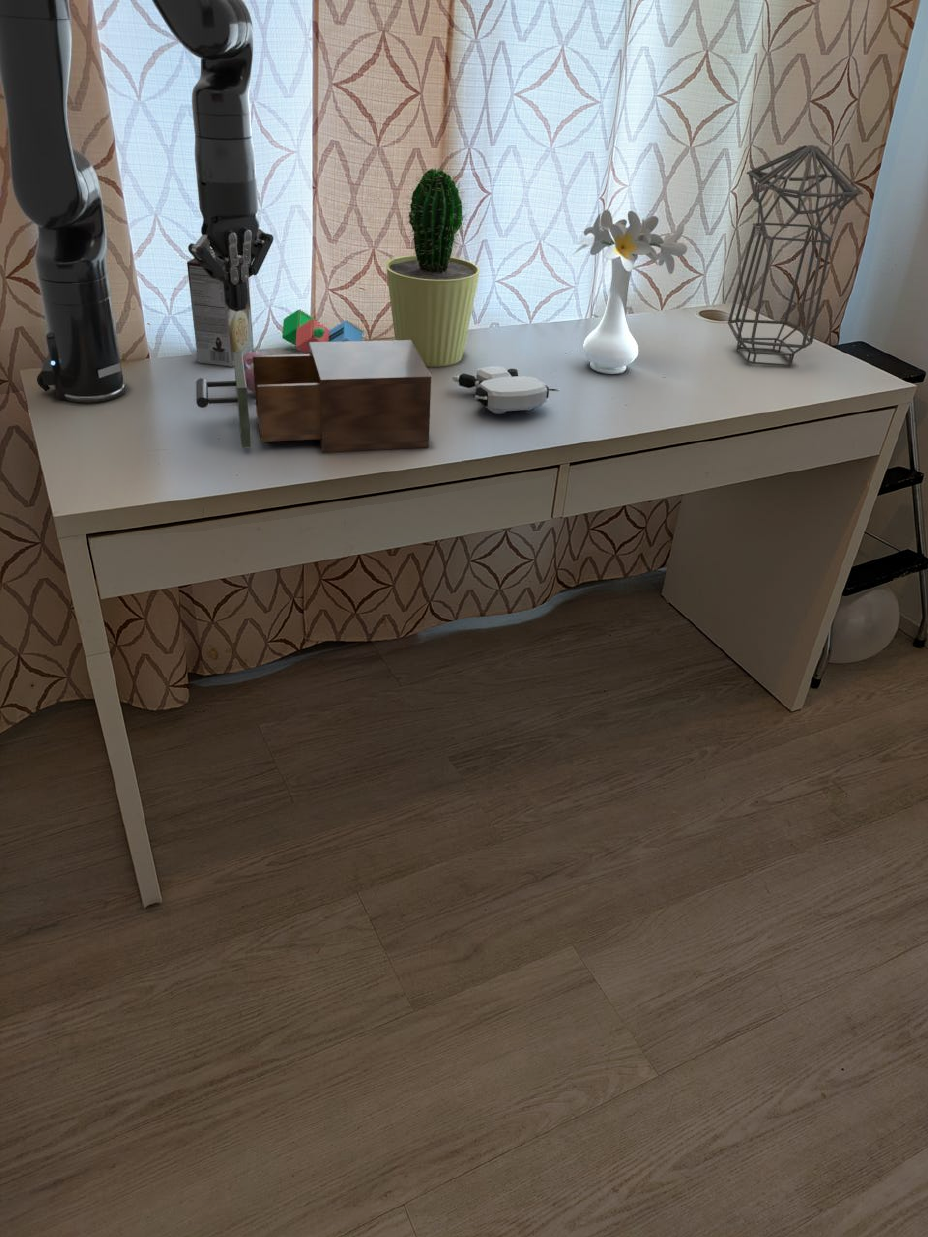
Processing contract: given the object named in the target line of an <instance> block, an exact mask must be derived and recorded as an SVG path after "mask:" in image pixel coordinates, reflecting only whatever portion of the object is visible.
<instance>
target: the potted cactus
mask: <svg viewBox="0 0 928 1237" xmlns="http://www.w3.org/2000/svg"><path fill="white" fill-rule="evenodd" d="M436 166H437V165H434V167H432V168H431V169H428V168H426V167H425V168H426V169H425V170H426V171H425V170H424V169H422V171H423V172H421V171H420V173H421V174H422V175H419V174H418V173H417V175H418V176H416V180H413V182H414V183H415V184H416V186H415V189H414V187H412V194H411V197H409V196H406V198H408V199H409V200H411V202H410V204H409V203H406V202H404V205H409V207H407V210H409V211H407V212H405V214H407V215H408V216H406V219H405V220H406V221H407V224H409V225H410V226H411V229H412V230H410V232H409V236H407V238H408V237H409V241H411V242H408V245H411V244H412V245H413V246H414V247H411V250H412V249H413V251H414V252H413V253H412V255H403V256H398V257H395V258H391V259H390V260H388V261H387V262H386V263H385V266H384V267H385V268H386V277H387V286H388V294H389V302H390V310H391V316H392V325H393V332H394V340H411V341H412V343H413V344H414V346H415V348H416V350H417V352H418V353H419V355H420V357H421V359H422V361H423V362H424V364H425V366H426V367H431V368H432V367H435V368H436V367H437V368H438V367H447V366H451V365H455V364H457V363H459V362H460V361H461V360H462V358H463V356H464V351H465V347H466V342H467V337H468V333H469V328H470V322H471V318H472V312H473V307H474V302H475V298H476V292H477V289H478V288H477V287H478V283H479V277H480V276H479V275H480V272H481V270H480V267H479V266H478V265H477V264H475V263H473V262H471V261H469V260H466V259H462V258H459V257H454V256H452V255H453V254H454V253H453V250H454V248H455V249H459V247H457V244H459V243H456V245H455V242H454V241H459V240H458V237H459V234H458V233H457V232H459V231H460V233H461V234H462V235H464V233H463V232H464V229H463V228H462V227H463V226H464V225H465V223H463V221H468V219H467V215H468V214H469V212H466V214H464V215H463V211H466V208H467V207H465V206H466V203H465V202H464V203H463V202H462V200H464V198H463V197H464V195H463V194H464V191H462V190H460V188H461V185H460V183H458V185H456V183H457V181H458V179H459V178H457V179H455V180H453V179H454V177H455V176H456V175H457V174H454V175H453V176H452V177H451V175H452V171H453V170H451V171H450V172H449V171H448V170H447V171H448V172H447V171H443V169H440V170H439V169H437V168H436ZM462 231H463V232H462ZM410 235H411V237H413V238H410ZM412 241H413V242H412Z"/></svg>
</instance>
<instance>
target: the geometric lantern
mask: <svg viewBox="0 0 928 1237" xmlns="http://www.w3.org/2000/svg"><path fill="white" fill-rule="evenodd" d="M806 158H807V161H806V165H805V168H804V172H803V176H802V177H801V176H800V177H799V176H798V177H797V176H794V177H793V176H792V175H793V174H794V173H795V172H796V171H797V169H798V168H799V167H800V166H801V164H802V163H803V161H804V160H805V159H806ZM812 163H813V164H812ZM778 164H779V165H778ZM811 164H812V165H813V171H814V174H810V175H809V172H810V169H811V168H810V167H811ZM818 164H819V166H820V168H821V169H822V172H823V173H819V168H818ZM776 165H778V166H776ZM773 166H776V167H774V169H772V170H770V171H769V172H765V171H764V170H767V169H769V168H772V167H773ZM788 171H789V173H788V174H787V175H786V173H787V172H788ZM827 171H828V172H829V174H830V175H829V174H828V173H827ZM746 175H748V178H749V182H750V186H751V191H752V194H753V197H752V200H753V201H754V202H755V203H758V207H757V208H758V209H757V222H753V223H752V228H751V232H750V237H749V240H748V245H747V247H746V252H745V255H744V258H743V259H744V260H743V263H742V267H741V271H740V275H739V279H738V282H737V286H736V290H735V294H734V298H733V301H732V306H731V309H730V311H729V316H728V320H727V325H728V327H729V329H730V330H731V332H732V334H733V336H734V338H735V340H736V341H737V344H736V349H735V350H736V351H737V353H738V354H739V355H740V356H741V357H742V358H743V360H744V361H745V362H746V363H747V364H752V365H761V366H762V365H764V366H780V367H791V366H792V365H793V360H794V357H795V354H797V353H798V352H799V351H801V350H803V349H806V348H807V347H809V346H810V345H812V344H813V343H814V335H815V331H816V325H817V319H818V315H819V309H820V305H821V298H822V294H823V289H824V288H823V287H824V283H825V279H826V278H825V277H826V272H827V268H828V262H829V257H830V251H831V246H832V243H833V241H834V239H833V237H834V234H835V231H836V229H837V228H836V227H837V225H838V222H839V219H840V216H841V212H842V210H845V207H846V206H847V205H848V204H850V203H851V202H852V201H853V200H855V198H857V197H858V196H859V195H863V194H864V191H863V190H861V188H859V186H857V184H856V183H855V182H854V181H853V180H851V178H850V177H849V176H848V175H847V174H846V173H845V172H844V171H843V170H842V169H841V168H840V167H839V166H838V164H836V163H835V162H834V161H833V160H832V159H831V158H830V157H829V156H828V155H827V154H826V153H825V152H824V151H823V150H822V148H820V146H818V145H815V144H813V145H812V144H808V145H806V144H804V145H802V146H799V147H797V148H796V149H794V150H791V151H790V152H787V153H785V154H783V155H781V156H779V157H777V158H774V159H772V160H770V161H768V162H766V163H764V164H762V165H760V166H757V167H756V168H753V169H751V170H748V171H747V172H746ZM827 178H830V179H831V178H832V179H833V181H834V192H832V193H831V192H830V193H822V191H821V185H820V184H821V183H822V182H823V181H824V180H826V179H827ZM772 179H773V180H772ZM812 179H814V180H815V181H814V182H813V183H812V184H810V185H809V186H807V187H806V188H805V185H806V182H807V181H809V180H812ZM771 180H772V181H771ZM779 180H782V182H781V183H780V184H779V185H778V186H777V185H775V184H776V183H777V182H778V181H779ZM788 181H791V182H801V183H800V185H799V189H791V188H786V186H787V183H788ZM813 188H816V189H815V190H816V192H809V191H811V190H812V189H813ZM839 188H840V189H841V191H842V192H839ZM760 189H761V190H762V189H764V190H763V192H762V194H761V195H760ZM769 190H770V191H774V192H776V194H777V195H778V196H777V197H776V199H774V202H773V203H772V205H771V206H770V208H769V209H768V210H767V212H766V214H765V215H764V209H763V204H762V202H763V200H764V198H765V197H766V196H767V194H768V192H769ZM802 197H812V198H813V197H815V198H816V200H815V207H814V208H815V209H807V207H806V204H805V203H804V200H803V198H802ZM789 198H793V199H798V200H797V207H796V206H795V205H794V203H792V202H791V201H790V200H789ZM822 198H823V199H824V198H834V200H833V201H831V202H829V203H827V204H825V205H822V206H821V207H819V203H820V200H821V199H822ZM780 199H782V200H783V201H784V202H785V203H786V204H787V205H788V206H789V207H790V209H791V210H792V211H793V212H794V215H793V216H792V217H791V218H790V219H789V220H788V221H787V222H786V223H781V222H780V223H779V222H766V221H767V219H768V217H769V216H770V214H771V213H772V212H773V210H774V208H775V207H776V205H777V204H778V202H779V201H780ZM842 202H843V203H842ZM841 203H842V204H841ZM801 205H802V207H803V210H801ZM828 208H830V209H829V210H828V212H827V213H826V214H825V216H824V217H823V219H822V220H821V216H820V212H821V211H824V210H826V209H828ZM836 208H837V209H838V212H837V217H836V219H835V222H834V226H833V228H832V231H831V233H830V235H828V234H827V233H826V232H825V231H823V225H824V224H825V222H826V221H827V220H828V218H829V217H830V215H831V214H832V213H833V211H834V210H835V209H836ZM812 214H815V216H816V220H817V226H814V224H813V223H812V220H811V218H810V215H812ZM798 215H806V218H807V219H808V222H809V224H803V223H802V224H800V223H799V224H798V223H791V222H792V221H793V220H795V218H797V216H798ZM766 226H777V227H778V226H779V227H781V228H780V229H779V230H778V231H777V232H776V233H775V234H774V235H773V236H770V235H768V234H767V231H766ZM786 227H800V228H801V227H802V228H807V229H806V230H807V231H806V235H805V238H795V237H794V238H793V237H780V236H778V235H779V234H780V233H781V232H782V231H783V230H784V229H785V228H786ZM811 230H812V231H815V233H814V238H813V239H811V238H810V234H811ZM756 231H758V235H757V238H756V242H755V246H754V249H753V252H752V256H751V260H750V263H749V268H748V271H747V275H746V278H745V282H744V286H743V290H742V293H741V297H740V301H739V305H738V308H737V312H736V315H735V319H733V316H734V312H735V308H736V305H737V301H738V297H739V293H740V290H741V286H742V282H743V280H744V279H743V278H744V276H745V272H746V267H747V263H748V259H749V256H750V252H751V248H752V244H753V241H754V237H755V233H756ZM819 234H820V239H818V236H819ZM761 237H762V239H761ZM825 238H826V239H825ZM766 240H769V246H768V251H767V255H766V260H765V265H764V270H763V276H762V280H761V281H762V282H761V286H760V291H759V297H758V302H757V307H756V312H755V316H754V319H746V316H747V312H748V310H749V309H748V308H749V304H750V302H751V298H752V293H753V290H754V287H755V282H756V278H757V275H758V271H759V267H760V264H761V261H762V260H761V259H762V257H763V253H764V252H763V251H764V247H765V243H766ZM775 240H778V241H791V242H792V241H793V242H803V246H802V250H801V254H800V258H799V263H798V265H797V268H796V269H797V270H796V274H795V278H794V281H793V285H792V289H791V293H790V296H789V297H790V298H789V301H788V305H787V308H786V313H785V316H784V319H783V320H768V319H767V320H766V319H759V317H760V312H761V307H762V303H763V302H762V301H763V297H764V293H765V292H764V291H765V286H766V282H767V277H768V272H769V267H770V261H771V257H772V252H773V247H774V242H775ZM760 242H761V243H760ZM808 243H812V247H811V253H810V257H809V258H810V259H809V261H808V262H809V263H808V268H807V274H806V279H805V284H804V289H803V294H802V299H801V305H800V309H799V315H798V319H797V324H795V323H793V322H790V321H788V319H789V315H790V312H791V309H792V306H793V305H792V304H793V301H794V297H795V293H796V289H797V286H798V282H799V278H800V274H801V270H802V267H803V262H804V259H805V254H806V251H807V247H808ZM817 243H819V249H818V253H817V254H818V255H817V260H816V265H815V271H814V276H813V280H812V281H813V282H812V288H811V293H810V299H809V304H808V309H807V316H806V321H805V326H804V329H803V328H802V327H801V325H802V320H803V314H804V309H805V305H806V299H807V295H808V289H809V283H810V279H811V274H812V273H811V272H812V269H813V263H814V258H815V252H816V247H817ZM825 244H827V245H826V246H827V247H826V251H825V255H824V261H823V266H822V273H821V277H820V282H819V288H818V292H817V298H816V302H815V309H814V314H813V320H812V324H811V330H810V334H809V335H810V336H808V332H809V327H810V321H811V316H812V310H813V305H814V301H815V300H814V299H815V294H816V288H817V283H818V277H819V271H820V266H821V262H822V256H823V249H824V245H825ZM759 246H760V247H759ZM758 249H759V251H758ZM757 253H758V255H757ZM756 257H757V259H756ZM755 261H756V263H755ZM754 263H755V267H754ZM753 267H754V271H753ZM752 272H753V274H752ZM751 274H752V278H751ZM750 278H751V282H750V285H749V281H750ZM748 285H749V286H748ZM748 287H749V289H748ZM747 289H748V293H747ZM746 293H747V297H745V296H746ZM745 298H746V301H745V304H744V308H743V303H744V300H745ZM742 308H743V311H742ZM741 311H742V316H741V318H740V315H741ZM739 323H740V324H739ZM745 323H747V324H753V327H752V333H751V337H743V336H742V333H743V329H744V324H745ZM733 324H735V327H736V329H737V331H736V329H735V327H734V325H733ZM758 324H771V325H781V327H780V330H779V332H778V334H777V337H756V333H757V328H758ZM785 325H787V326H790V327H792V328H794V329H792V330H791V331H790V332H788V334H786V335H785V336H784V337H783V338H782V339H780V337H781V335H782V332H783V330H784V328H785ZM797 330H798V331H799V333H800V334H801V335H802V336H803V338H802V343H801V344H795V343H786V342H785V340H787V338H789V337H790V336H792V334H793V333H794V332H796V331H797ZM769 341H773V342H769ZM746 344H749V345H751V347H748V346H747V345H746ZM756 346H769V347H772V348H763V347H761V348H760V347H756ZM776 347H778V349H776ZM782 347H783V348H787V349H788V350H789V351H790V352H791V353H789V352H783V351H782V350H781V349H782ZM792 348H796V349H795V350H794V349H792ZM742 350H745V351H746V352H747V353H748V354H747V357H746V356H745V355H744V354H743V352H742ZM751 355H753V359H752V360H750V358H751ZM757 355H770V356H782V357H783V359H785V360H786V362H787V363H779V362H765V361H764V362H761V361H756V358H757ZM787 356H788V357H787Z"/></svg>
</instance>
